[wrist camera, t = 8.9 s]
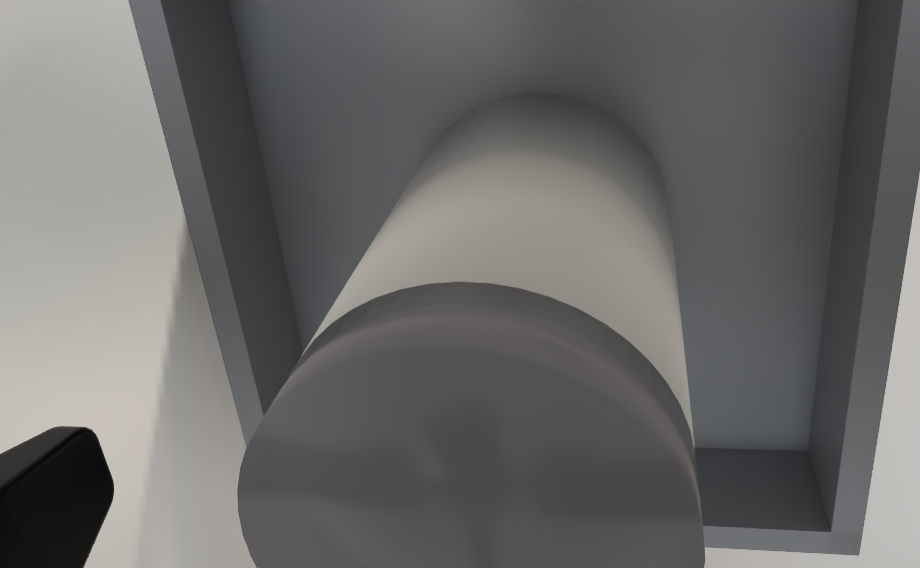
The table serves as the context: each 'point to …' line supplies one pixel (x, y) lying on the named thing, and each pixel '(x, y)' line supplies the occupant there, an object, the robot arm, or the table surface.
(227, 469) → the table surface
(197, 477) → the table surface
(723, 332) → the tray
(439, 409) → the cylinder
